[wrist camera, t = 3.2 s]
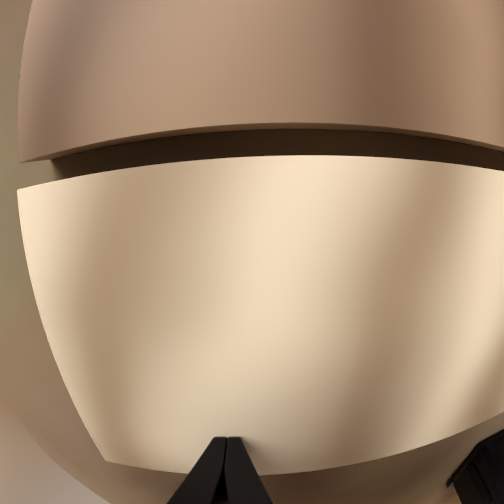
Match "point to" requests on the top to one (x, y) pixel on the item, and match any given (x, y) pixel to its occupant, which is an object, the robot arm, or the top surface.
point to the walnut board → (258, 70)
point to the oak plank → (273, 305)
